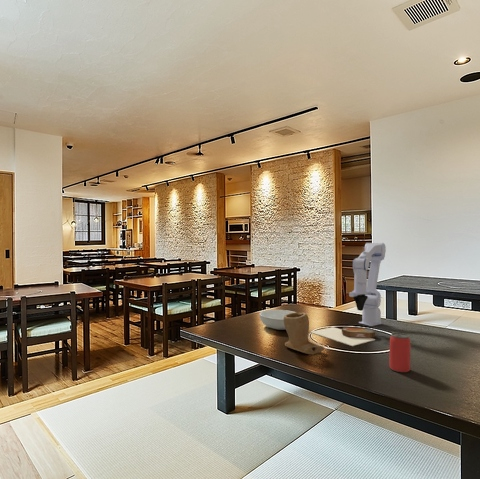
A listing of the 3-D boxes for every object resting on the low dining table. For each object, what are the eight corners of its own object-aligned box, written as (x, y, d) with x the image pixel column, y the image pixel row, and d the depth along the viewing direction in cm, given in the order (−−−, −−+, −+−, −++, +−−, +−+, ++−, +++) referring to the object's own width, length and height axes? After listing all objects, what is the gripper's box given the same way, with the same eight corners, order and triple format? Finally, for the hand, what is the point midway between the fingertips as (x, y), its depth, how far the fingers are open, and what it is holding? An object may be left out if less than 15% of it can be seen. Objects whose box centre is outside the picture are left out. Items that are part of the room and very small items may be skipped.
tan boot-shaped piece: (277, 347, 140) (277, 311, 140) (298, 343, 146) (299, 308, 146) (302, 359, 127) (303, 319, 127) (325, 353, 134) (325, 315, 133)
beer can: (385, 366, 121) (386, 332, 121) (403, 365, 121) (403, 332, 121) (395, 373, 114) (396, 338, 114) (414, 373, 115) (414, 337, 115)
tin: (372, 328, 161) (377, 331, 153) (372, 334, 161) (377, 338, 152) (339, 326, 162) (343, 329, 154) (339, 333, 162) (343, 336, 154)
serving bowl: (267, 334, 159) (267, 320, 158) (254, 323, 179) (254, 310, 179) (308, 331, 164) (308, 317, 164) (290, 321, 184) (290, 308, 184)
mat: (332, 327, 171) (332, 327, 171) (375, 340, 152) (375, 339, 152) (310, 332, 162) (310, 331, 162) (352, 346, 143) (352, 345, 143)
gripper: (362, 280, 175) (362, 307, 175) (344, 282, 167) (343, 310, 167) (374, 282, 169) (374, 309, 169) (356, 284, 161) (355, 313, 161)
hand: (360, 310), depth 168 cm, fingers closed
